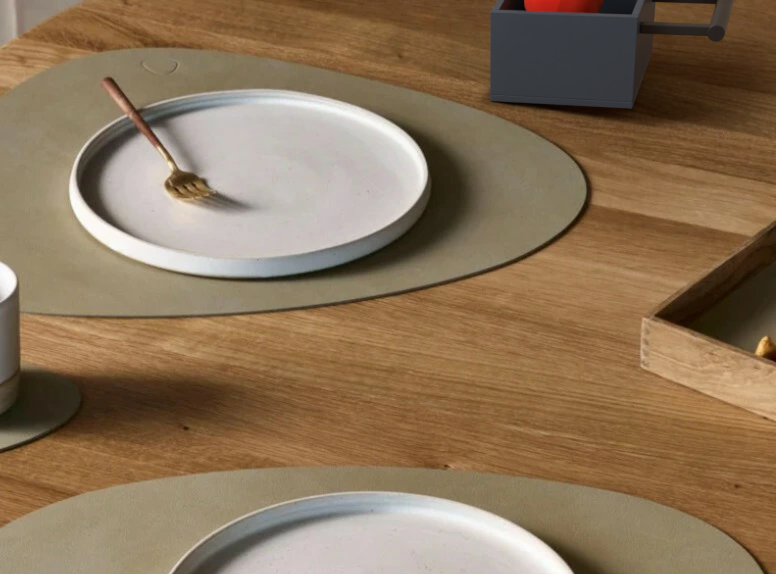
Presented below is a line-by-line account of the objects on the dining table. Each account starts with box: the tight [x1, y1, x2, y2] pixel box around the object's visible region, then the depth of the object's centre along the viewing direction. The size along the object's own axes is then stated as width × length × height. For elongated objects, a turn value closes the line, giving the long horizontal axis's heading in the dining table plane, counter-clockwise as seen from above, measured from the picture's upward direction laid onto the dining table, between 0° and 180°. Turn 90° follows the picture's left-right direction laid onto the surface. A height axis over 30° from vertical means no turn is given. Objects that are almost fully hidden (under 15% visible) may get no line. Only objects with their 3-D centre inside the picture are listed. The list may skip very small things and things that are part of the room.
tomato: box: [524, 0, 603, 13], centre depth 150 cm, size 11×11×8 cm
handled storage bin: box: [489, 0, 735, 110], centre depth 150 cm, size 22×14×9 cm, turn 71°
